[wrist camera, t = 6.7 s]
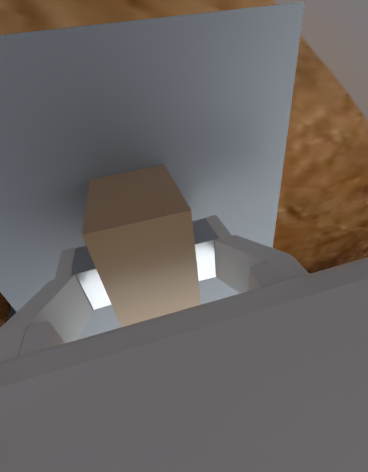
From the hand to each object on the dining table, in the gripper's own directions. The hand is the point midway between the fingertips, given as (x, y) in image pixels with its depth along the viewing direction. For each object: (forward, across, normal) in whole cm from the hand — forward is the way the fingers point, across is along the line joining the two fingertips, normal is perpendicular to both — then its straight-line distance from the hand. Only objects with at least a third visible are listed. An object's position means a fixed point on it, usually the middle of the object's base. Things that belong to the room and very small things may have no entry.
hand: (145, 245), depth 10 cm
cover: (+3, 0, 0) cm, 3 cm away
